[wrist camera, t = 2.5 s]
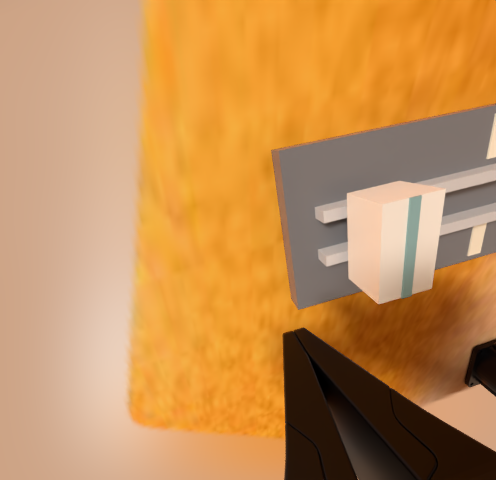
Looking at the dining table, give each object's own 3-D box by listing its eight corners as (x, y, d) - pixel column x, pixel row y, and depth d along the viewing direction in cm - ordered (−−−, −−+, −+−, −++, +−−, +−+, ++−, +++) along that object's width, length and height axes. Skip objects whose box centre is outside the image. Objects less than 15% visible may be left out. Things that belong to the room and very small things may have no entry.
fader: (378, 256, 19) (433, 289, 14) (336, 267, 18) (379, 305, 14) (381, 177, 16) (448, 188, 12) (332, 188, 16) (384, 204, 12)
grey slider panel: (509, 236, 23) (547, 247, 21) (291, 298, 20) (304, 319, 18) (548, 92, 18) (602, 84, 16) (271, 150, 16) (285, 150, 13)
